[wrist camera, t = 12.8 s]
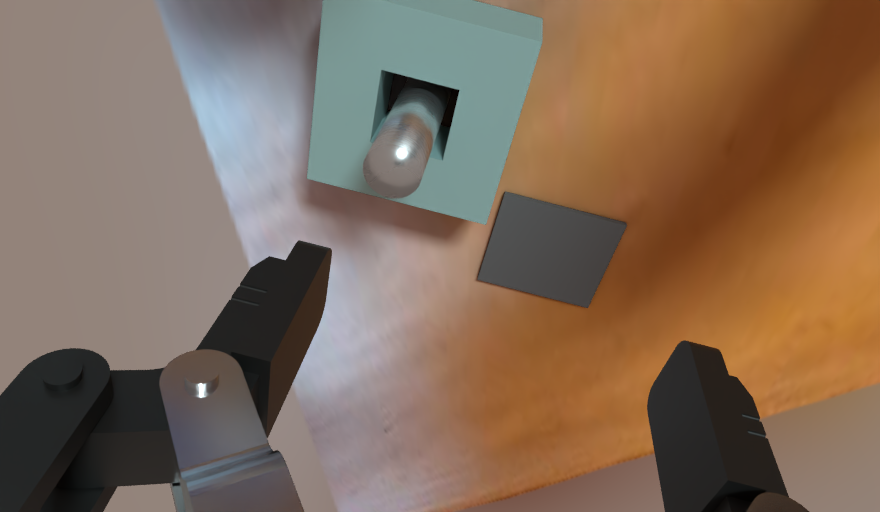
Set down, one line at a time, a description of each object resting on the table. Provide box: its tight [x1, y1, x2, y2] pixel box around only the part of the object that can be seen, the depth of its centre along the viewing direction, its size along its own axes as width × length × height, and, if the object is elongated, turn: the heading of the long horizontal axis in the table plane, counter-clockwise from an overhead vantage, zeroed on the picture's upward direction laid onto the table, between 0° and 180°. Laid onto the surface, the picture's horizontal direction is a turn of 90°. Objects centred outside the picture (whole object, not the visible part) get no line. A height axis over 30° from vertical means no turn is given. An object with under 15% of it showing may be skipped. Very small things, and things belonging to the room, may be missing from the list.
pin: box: [363, 77, 451, 199], centre depth 35 cm, size 3×3×12 cm
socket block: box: [307, 0, 543, 225], centre depth 38 cm, size 12×12×5 cm
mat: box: [477, 192, 627, 308], centre depth 46 cm, size 9×8×1 cm
